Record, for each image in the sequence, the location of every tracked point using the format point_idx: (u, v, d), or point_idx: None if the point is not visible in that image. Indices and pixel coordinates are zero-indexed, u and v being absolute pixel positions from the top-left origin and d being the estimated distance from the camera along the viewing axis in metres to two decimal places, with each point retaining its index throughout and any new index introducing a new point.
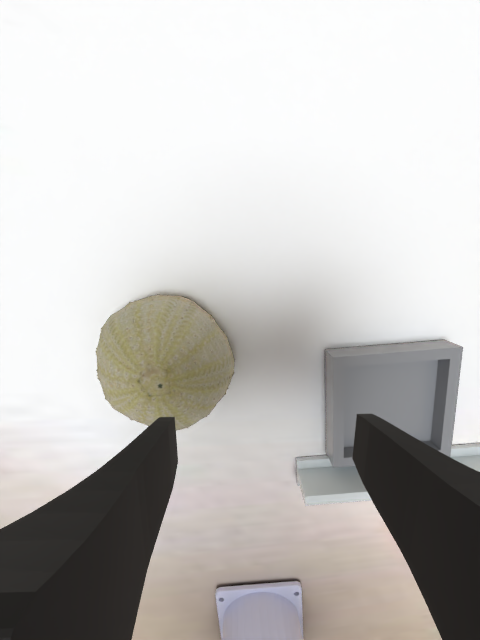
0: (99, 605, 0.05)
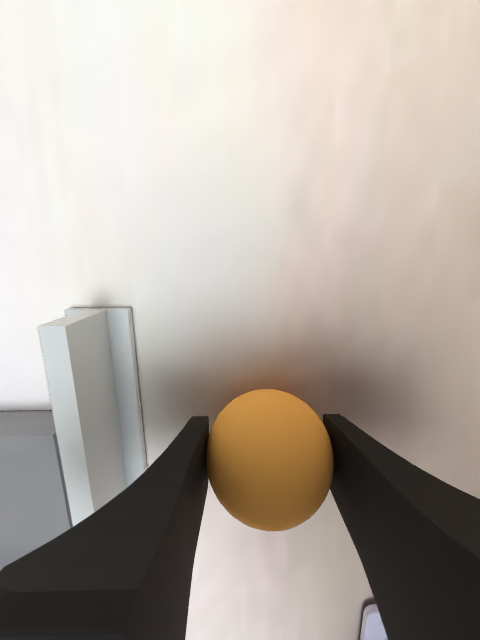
0: (169, 604, 0.05)
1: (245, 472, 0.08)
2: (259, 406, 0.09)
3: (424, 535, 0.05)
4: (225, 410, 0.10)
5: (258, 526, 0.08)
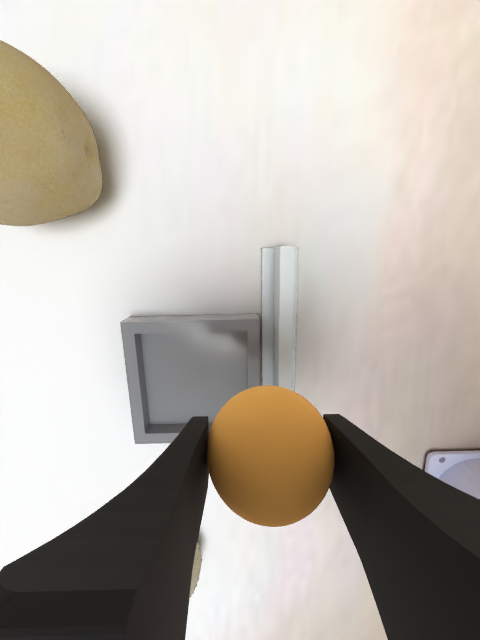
0: (169, 604, 0.05)
1: (246, 467, 0.08)
2: (261, 402, 0.09)
3: (424, 535, 0.05)
4: (226, 406, 0.10)
5: (259, 521, 0.08)
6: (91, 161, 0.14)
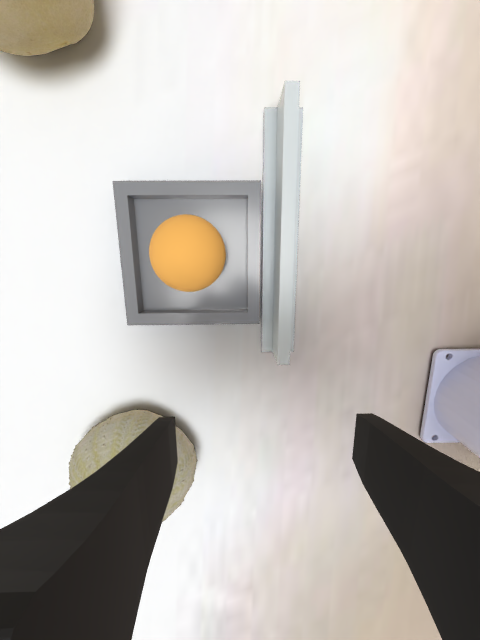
0: (100, 606, 0.05)
1: (165, 236, 0.14)
2: (178, 215, 0.15)
3: None
4: None
5: (174, 272, 0.15)
6: None
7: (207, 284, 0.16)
